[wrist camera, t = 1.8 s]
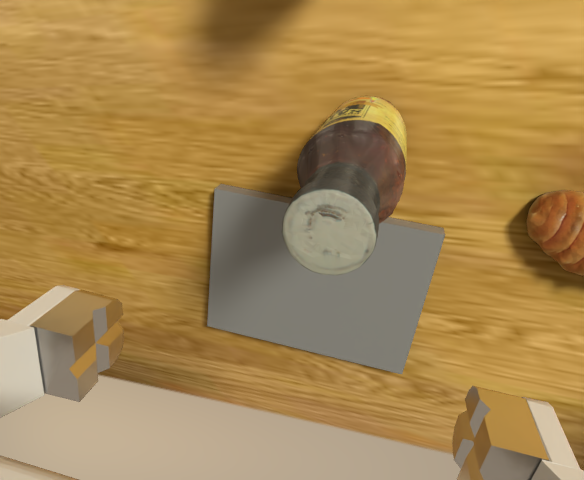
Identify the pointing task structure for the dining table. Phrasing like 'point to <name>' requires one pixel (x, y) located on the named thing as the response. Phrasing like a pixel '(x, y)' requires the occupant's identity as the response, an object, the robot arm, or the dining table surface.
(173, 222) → the dining table surface
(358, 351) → the serving board
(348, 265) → the sauce bottle
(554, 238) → the pastry
